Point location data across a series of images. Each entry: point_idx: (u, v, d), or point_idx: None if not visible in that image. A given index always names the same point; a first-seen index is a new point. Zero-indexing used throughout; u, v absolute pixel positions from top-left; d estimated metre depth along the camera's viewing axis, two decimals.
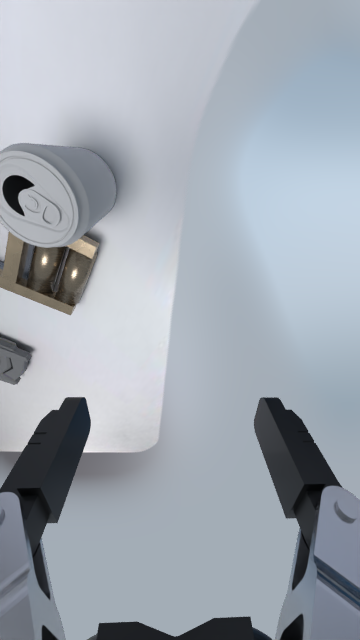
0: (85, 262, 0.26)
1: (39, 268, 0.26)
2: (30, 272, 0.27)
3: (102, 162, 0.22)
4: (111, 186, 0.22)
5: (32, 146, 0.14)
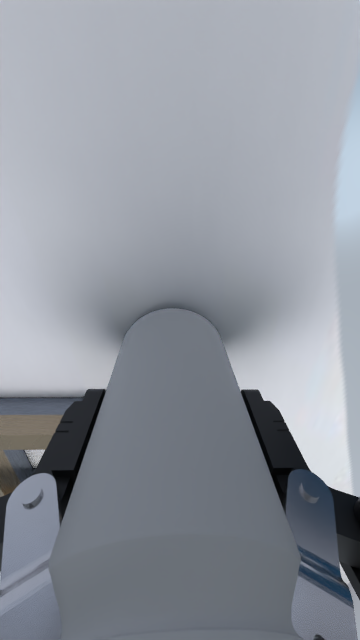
0: None
1: None
2: None
3: (193, 320, 0.12)
4: (224, 351, 0.12)
5: (120, 552, 0.04)
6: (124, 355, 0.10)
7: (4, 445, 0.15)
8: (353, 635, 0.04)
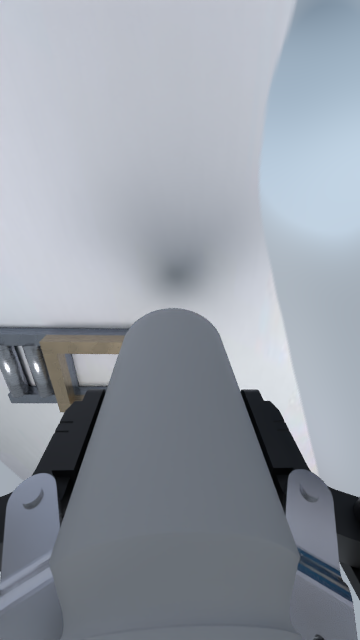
0: None
1: None
2: None
3: (193, 320, 0.12)
4: (224, 350, 0.12)
5: (121, 550, 0.04)
6: (124, 355, 0.10)
7: (74, 350, 0.25)
8: (353, 634, 0.04)
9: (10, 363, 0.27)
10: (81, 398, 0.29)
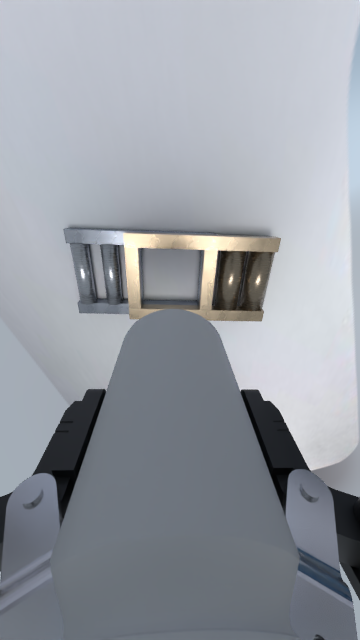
0: (271, 259, 0.27)
1: (230, 286, 0.28)
2: (220, 294, 0.29)
3: (193, 321, 0.12)
4: (224, 351, 0.12)
5: (121, 554, 0.04)
6: (124, 356, 0.10)
7: (155, 244, 0.25)
8: (352, 634, 0.04)
9: (86, 264, 0.27)
10: (149, 306, 0.30)
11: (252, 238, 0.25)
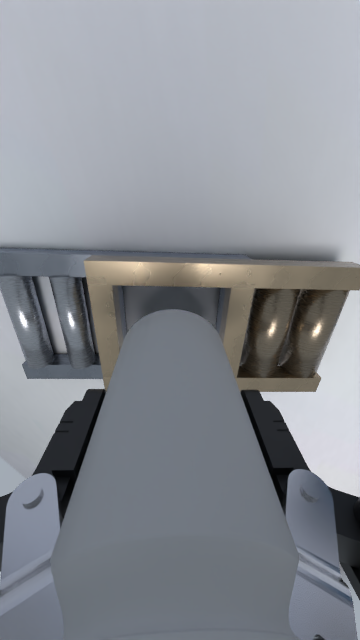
0: (344, 301, 0.15)
1: (270, 343, 0.17)
2: (252, 353, 0.18)
3: (193, 321, 0.12)
4: (224, 351, 0.12)
5: (121, 554, 0.04)
6: (124, 356, 0.10)
7: (143, 278, 0.14)
8: (353, 635, 0.04)
9: (28, 309, 0.16)
10: None
11: (318, 268, 0.14)
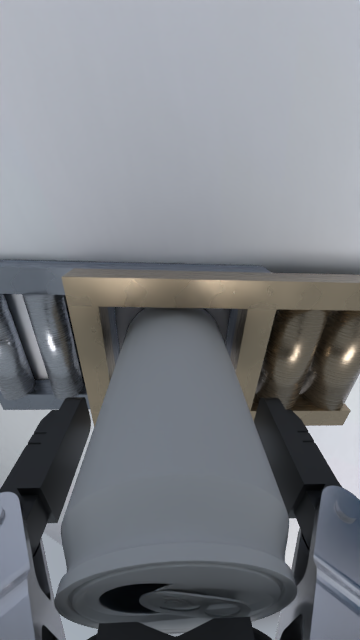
0: None
1: (293, 373, 0.14)
2: (269, 383, 0.15)
3: (193, 311, 0.13)
4: (222, 339, 0.13)
5: (131, 489, 0.05)
6: (129, 342, 0.11)
7: (137, 298, 0.11)
8: None
9: None
10: None
11: (357, 284, 0.11)
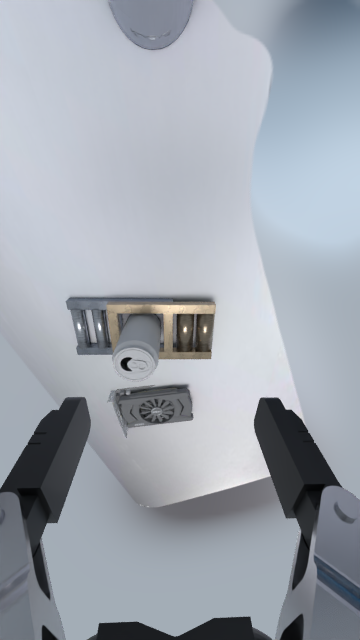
0: (211, 317, 0.38)
1: (184, 336, 0.39)
2: (178, 341, 0.40)
3: (148, 314, 0.38)
4: (157, 323, 0.38)
5: (125, 342, 0.30)
6: (126, 324, 0.37)
7: (128, 310, 0.37)
8: None
9: (82, 322, 0.39)
10: None
11: (195, 305, 0.36)
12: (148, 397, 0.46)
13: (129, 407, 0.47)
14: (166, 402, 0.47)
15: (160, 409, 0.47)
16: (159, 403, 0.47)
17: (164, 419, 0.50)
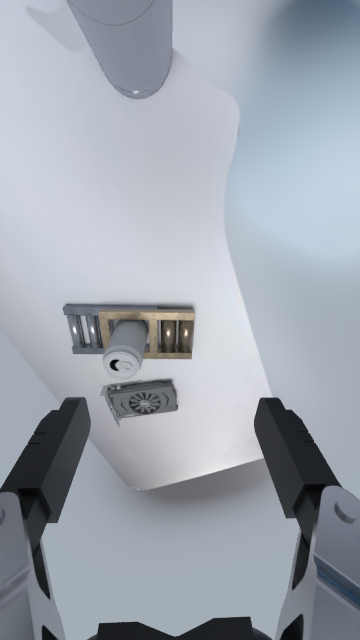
0: (191, 323, 0.43)
1: (167, 339, 0.44)
2: (162, 343, 0.45)
3: (135, 320, 0.43)
4: (143, 328, 0.43)
5: (113, 346, 0.35)
6: (116, 328, 0.42)
7: (118, 317, 0.42)
8: None
9: (77, 326, 0.44)
10: None
11: (177, 313, 0.42)
12: (136, 391, 0.51)
13: (120, 400, 0.53)
14: (153, 395, 0.52)
15: (147, 401, 0.53)
16: (146, 396, 0.52)
17: (152, 410, 0.55)
